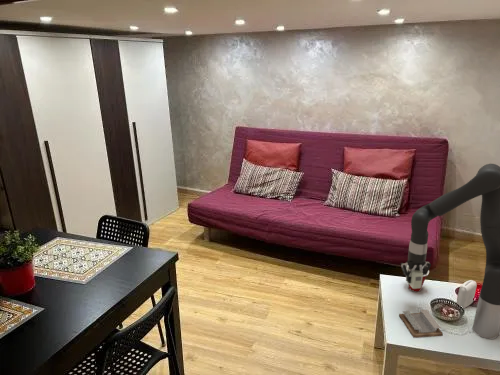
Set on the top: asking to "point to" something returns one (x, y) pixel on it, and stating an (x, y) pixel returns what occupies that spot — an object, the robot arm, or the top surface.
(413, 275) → the block
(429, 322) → the grey base plate
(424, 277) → the plastic cup
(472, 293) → the white toy toaster
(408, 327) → the mounting board
